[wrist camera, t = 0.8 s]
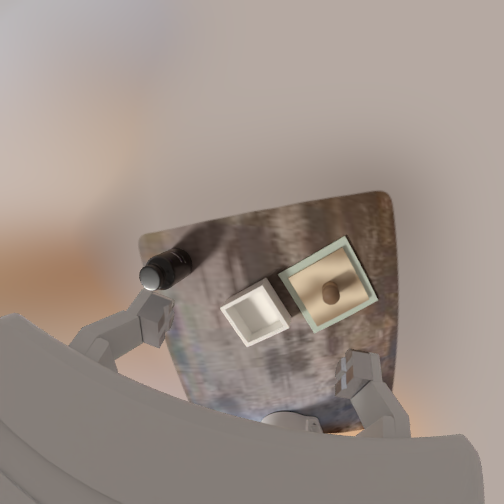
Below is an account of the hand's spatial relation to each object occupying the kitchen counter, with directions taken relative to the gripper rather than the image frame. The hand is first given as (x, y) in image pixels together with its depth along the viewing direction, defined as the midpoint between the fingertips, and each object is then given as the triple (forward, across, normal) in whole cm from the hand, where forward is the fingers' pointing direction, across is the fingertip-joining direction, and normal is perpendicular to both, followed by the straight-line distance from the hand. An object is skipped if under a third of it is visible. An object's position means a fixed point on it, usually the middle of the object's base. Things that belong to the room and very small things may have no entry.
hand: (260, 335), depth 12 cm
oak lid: (+35, +14, -22) cm, 44 cm away
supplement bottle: (+37, -18, -29) cm, 50 cm away
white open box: (+34, +1, -32) cm, 46 cm away
